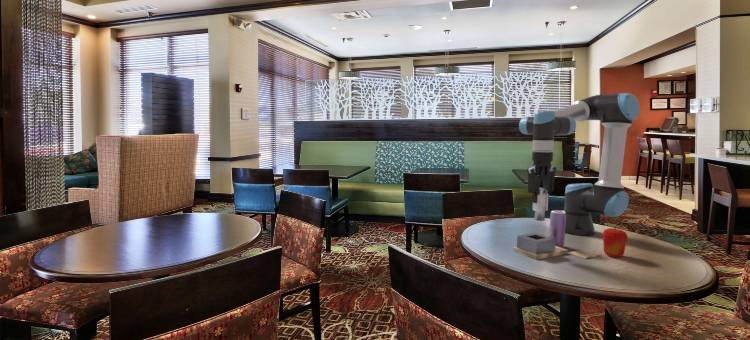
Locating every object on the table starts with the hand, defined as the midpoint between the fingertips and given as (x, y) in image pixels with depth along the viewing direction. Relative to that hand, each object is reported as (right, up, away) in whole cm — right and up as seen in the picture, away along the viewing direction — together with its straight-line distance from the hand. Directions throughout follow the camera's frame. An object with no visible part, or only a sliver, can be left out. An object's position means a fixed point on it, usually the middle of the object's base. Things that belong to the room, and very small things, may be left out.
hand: (540, 210), depth 162 cm
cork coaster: (+17, -18, -1) cm, 24 cm away
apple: (+28, -18, -1) cm, 34 cm away
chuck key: (0, -4, 0) cm, 4 cm away
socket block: (-1, -16, +2) cm, 16 cm away
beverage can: (+11, -17, +11) cm, 23 cm away
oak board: (+1, -17, +3) cm, 17 cm away
